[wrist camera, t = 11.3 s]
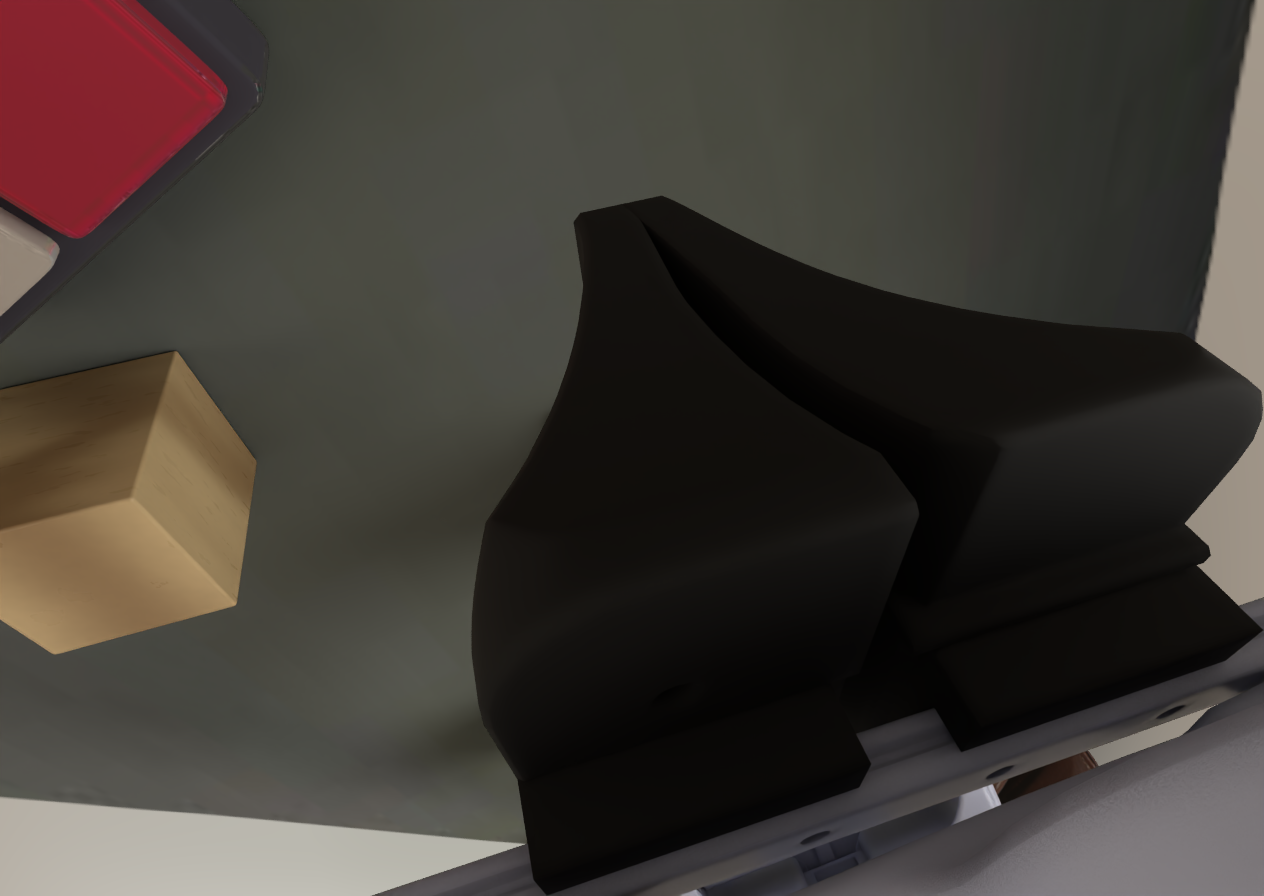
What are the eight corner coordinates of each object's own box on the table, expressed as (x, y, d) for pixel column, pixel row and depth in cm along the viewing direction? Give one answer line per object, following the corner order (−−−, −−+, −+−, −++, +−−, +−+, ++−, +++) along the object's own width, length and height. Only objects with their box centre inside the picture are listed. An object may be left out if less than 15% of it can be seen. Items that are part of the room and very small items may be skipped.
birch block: (177, 349, 20) (132, 498, 16) (258, 461, 24) (237, 606, 20) (-6, 389, 19) (-101, 555, 15) (106, 498, 23) (53, 656, 19)
